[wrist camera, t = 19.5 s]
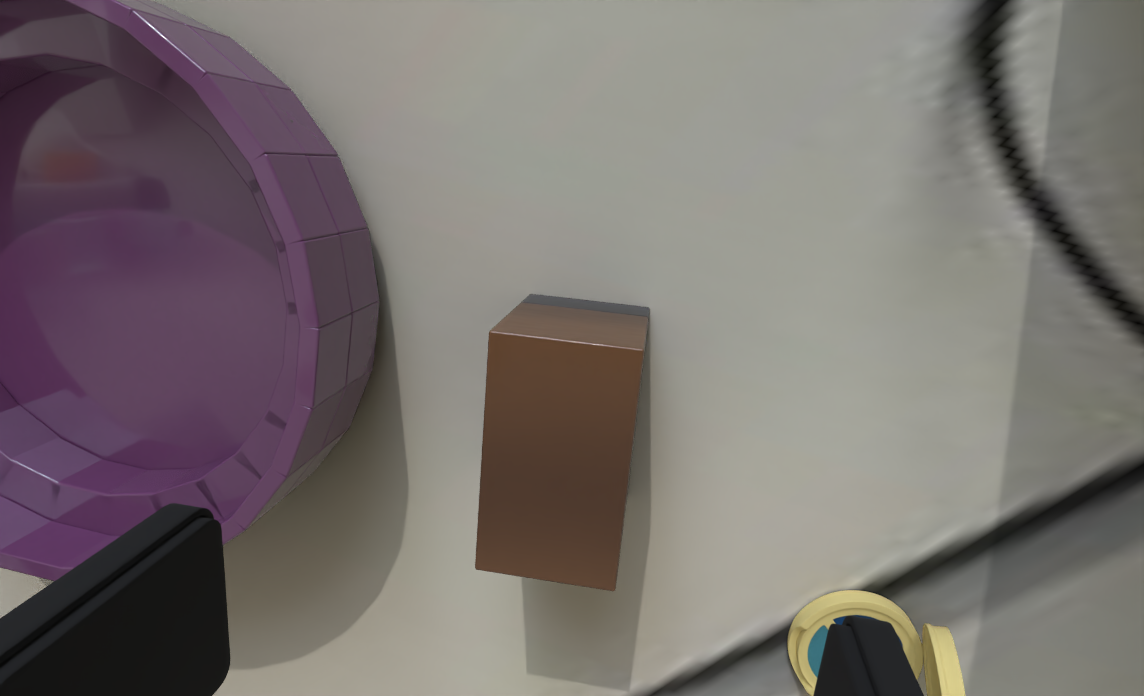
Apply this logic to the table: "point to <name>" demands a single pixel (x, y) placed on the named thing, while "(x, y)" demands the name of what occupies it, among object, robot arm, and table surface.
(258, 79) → the bowl
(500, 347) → the brown rectangular block
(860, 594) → the eyeshadow
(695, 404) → the table surface
